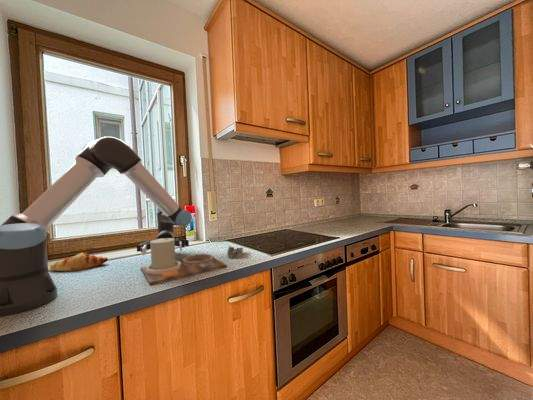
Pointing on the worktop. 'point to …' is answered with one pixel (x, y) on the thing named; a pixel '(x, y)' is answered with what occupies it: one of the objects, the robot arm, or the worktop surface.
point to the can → (163, 253)
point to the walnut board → (187, 268)
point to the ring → (165, 270)
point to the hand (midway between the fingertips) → (162, 249)
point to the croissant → (78, 262)
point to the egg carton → (234, 252)
